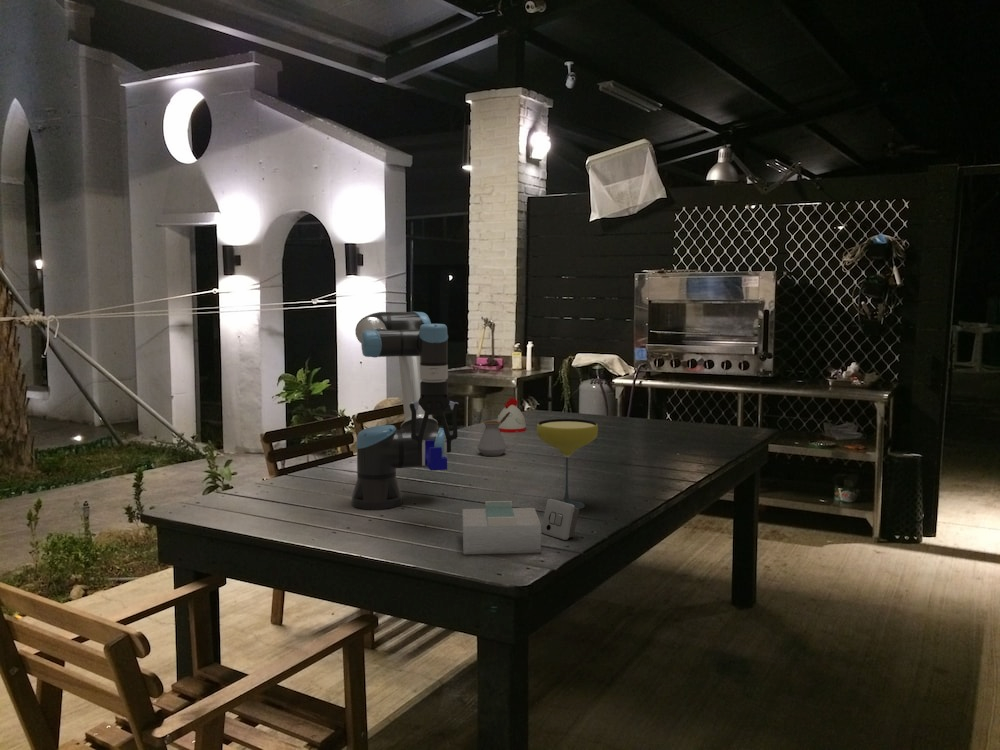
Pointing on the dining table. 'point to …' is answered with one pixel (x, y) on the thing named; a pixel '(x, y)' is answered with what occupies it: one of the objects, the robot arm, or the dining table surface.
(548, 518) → the electrical switch
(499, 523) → the white boxy block
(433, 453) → the blue stepped piece
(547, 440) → the cocktail glass
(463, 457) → the dining table surface
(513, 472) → the dining table surface
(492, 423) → the coffee pot
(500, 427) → the kitchen timer
